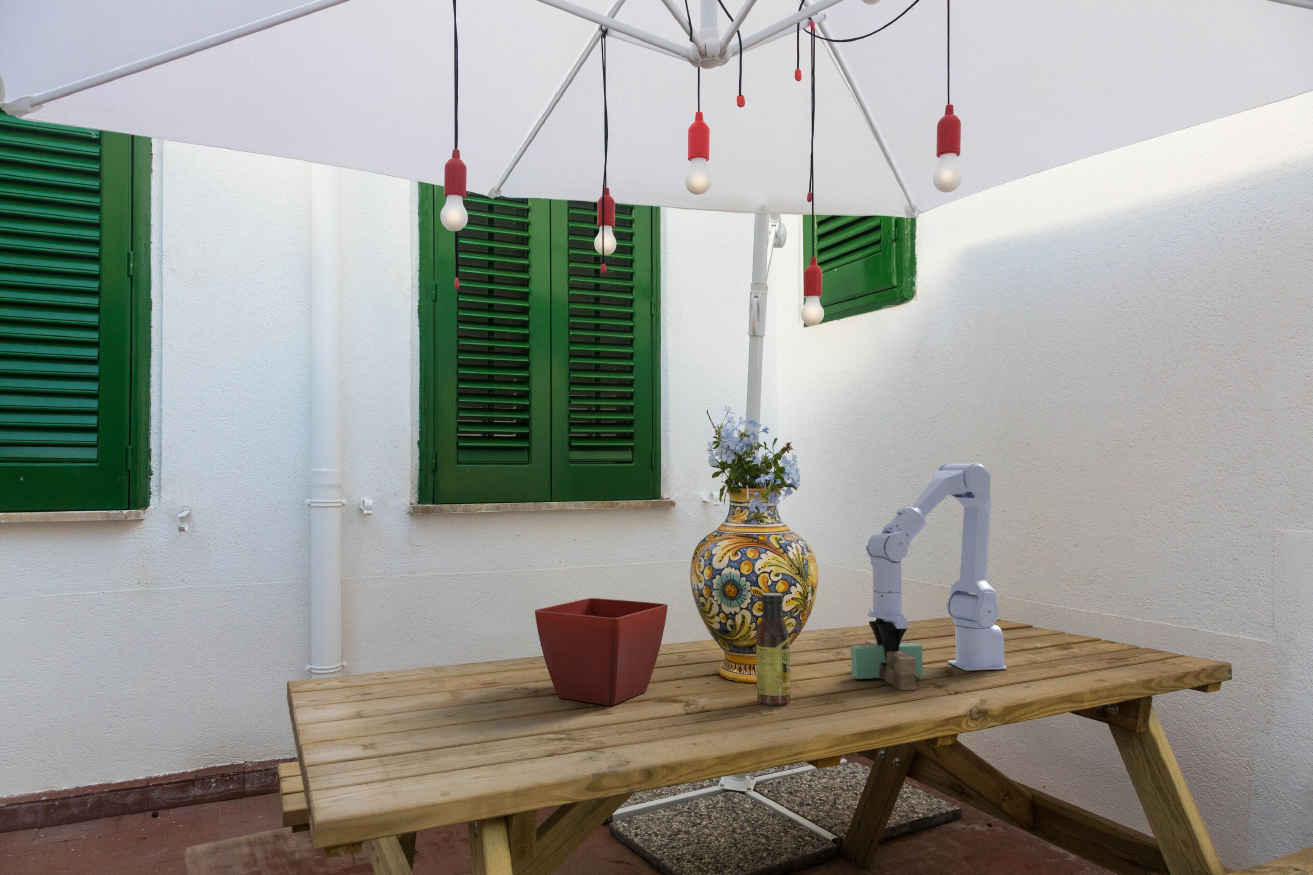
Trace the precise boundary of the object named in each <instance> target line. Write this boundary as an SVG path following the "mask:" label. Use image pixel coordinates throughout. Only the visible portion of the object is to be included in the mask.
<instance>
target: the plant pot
mask: <svg viewBox="0 0 1313 875" xmlns="http://www.w3.org/2000/svg"><path fill="white" fill-rule="evenodd" d="M667 613H668V604H667V603H660V602H659V603H658V602H648V601H639V600H638V601H635V600H626V599H609V598H598V597H592V598H591V597H589V598H588V597H587V598H584V599H580V600H573V601H570V602H566V603H560V604H556V605H553V606H547V607H544V608H539V609H538V608H537V609H534V614H535V616H534V618H535V622H536V628H537V633H538V639H539V643H540V648H541V651H542V655H543V657H544V658H543V659H544V661H545V665H546V668H547V671H548V674H549V677H550V679H551V680H550V681H552V682H551V683H552V685H553V687H554V690H555V693H556V695H557V697H558V698H562V699H567V700H573V701H579V702H586V703H591V704H598V705H604V706H615V705H617V704H619V703H622V702H624V701H626V700H629V699H631V698H634V697H636V696H639V695H641V694H644V693H646V692H647V689H648V687H649V684H650V681H651V678H652V676H653V673H654V671H655V666H656V662H657V661H658V660H657V659H658V656H659V653H660V648H661V644H662V641H663V636H664V630H665V627H666V622H667Z"/></svg>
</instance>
